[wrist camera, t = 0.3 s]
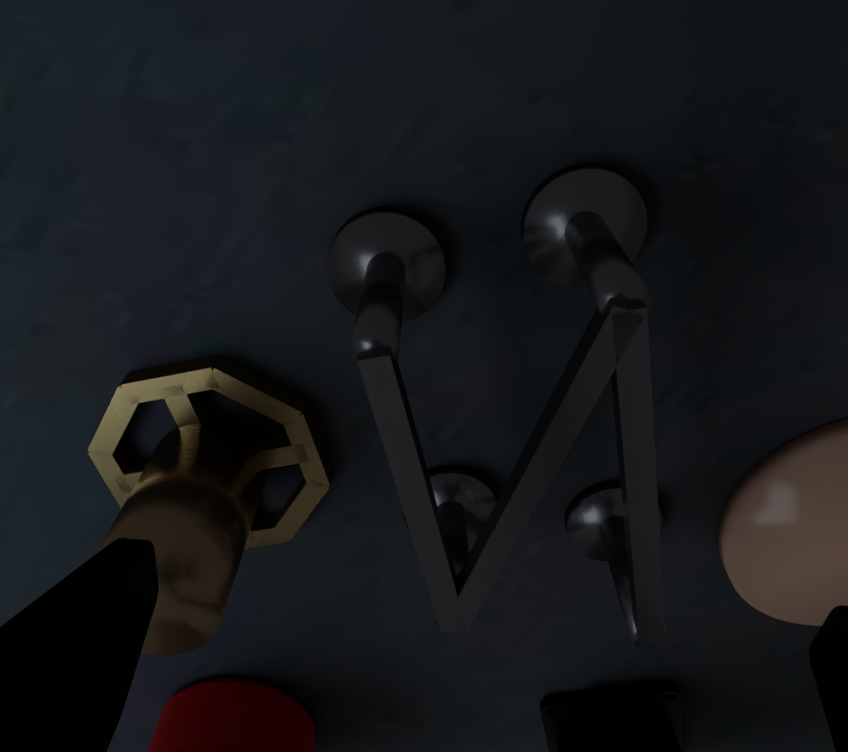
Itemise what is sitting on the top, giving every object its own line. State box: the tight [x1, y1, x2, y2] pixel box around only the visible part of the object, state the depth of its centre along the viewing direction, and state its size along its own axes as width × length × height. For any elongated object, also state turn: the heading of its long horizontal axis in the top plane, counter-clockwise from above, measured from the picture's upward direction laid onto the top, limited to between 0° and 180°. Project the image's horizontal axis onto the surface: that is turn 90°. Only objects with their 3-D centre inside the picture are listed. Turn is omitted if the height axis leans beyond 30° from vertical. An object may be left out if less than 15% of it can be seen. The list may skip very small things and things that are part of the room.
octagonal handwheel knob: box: [88, 356, 333, 655], centre depth 22 cm, size 8×8×7 cm
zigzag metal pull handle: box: [327, 164, 668, 648], centre depth 21 cm, size 16×10×6 cm, turn 12°
